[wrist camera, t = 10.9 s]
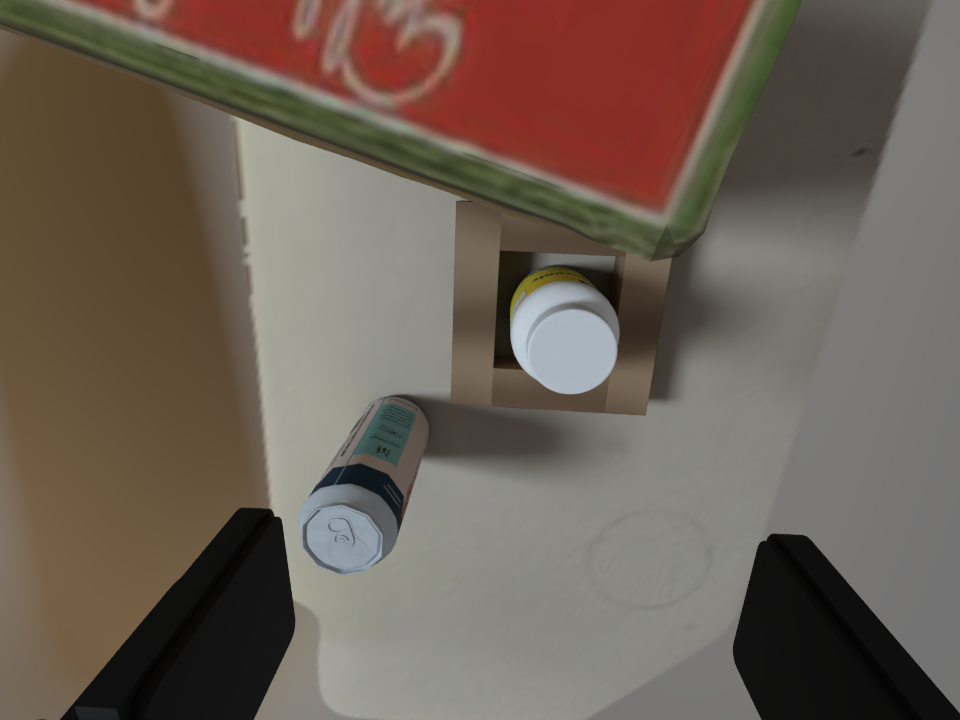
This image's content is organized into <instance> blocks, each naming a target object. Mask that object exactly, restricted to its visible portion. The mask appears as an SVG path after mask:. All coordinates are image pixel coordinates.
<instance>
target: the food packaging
mask: <svg viewBox="0 0 960 720" xmlns="http://www.w3.org/2000/svg"><path fill="white" fill-rule="evenodd" d="M801 1H802V0H0V29H2V30H5V31H8V32H11V33H13V34H16V35H19V36H22V37H25V38H28V39H30V40H33V41H36V42H39V43H41V44H44V45H47V46H50V47H53V48H55V49H58V50H61V51H64V52H66V53H69V54H72V55H76V56H78V57H80V58H83V59H86V60H89V61H91V62H94V63H97V64H99V65H102V66H104V67H107V68H110V69H112V70H115V71H118V72H121V73H123V74H126V75H128V76H131V77H134V78H136V79H139V80H142V81H144V82H147V83H149V84H152V85H155V86H158V87H160V88H163V89H166V90H168V91H171V92H174V93H177V94H179V95H182V96H184V97H187V98H190V99H193V100H195V101H198V102H201V103H203V104H206V105H209V106H211V107H214V108H217V109H219V110H221V111H224V112H226V113H229V114H231V115H234V116H236V117H239V118H241V119H244V120H246V121H249V122H251V123H254V124H256V125H259V126H261V127H264V128H266V129H269V130H271V131H274V132H276V133H279V134H281V135H284V136H286V137H289V138H291V139H294V140H297V141H300V142H303V143H306V144H309V145H312V146H315V147H318V148H321V149H324V150H327V151H330V152H333V153H336V154H339V155H342V156H345V157H348V158H351V159H354V160H357V161H360V162H362V163H365V164H368V165H371V166H373V167H376V168H379V169H381V170H384V171H387V172H390V173H392V174H395V175H398V176H400V177H403V178H407V179H410V180H413V181H417V182H420V183H423V184H426V185H429V186H432V187H435V188H438V189H441V190H444V191H446V192H449V193H452V194H454V195H457V196H460V197H462V198H465V199H468V200H470V201H473V202H475V203H478V204H481V205H483V206H486V207H489V208H491V209H494V210H497V211H499V212H502V213H504V214H507V215H511V216H514V217H518V218H521V219H525V220H528V221H532V222H535V223H539V224H542V225H546V226H549V227H553V228H556V229H560V230H563V231H566V232H569V233H572V234H575V235H577V236H580V237H583V238H586V239H589V240H592V241H595V242H598V243H601V244H604V245H606V246H609V247H612V248H615V249H617V250H620V251H623V252H625V253H628V254H630V255H633V256H636V257H638V258H641V259H644V260H646V261H649V262H652V261H657V260H662V259H667V258H672V257H678V256H680V255H681V254H682V253H683V252H684V251H685V250H686V249H688V248H689V247H690V246H691V245H692V244H693V243H694V242H695V241H696V240H697V239H698V238H699V237H700V236H701V235H702V234H703V233H704V231H705V228H706V225H707V222H708V218H709V215H710V212H711V209H712V206H713V203H714V199H715V197H716V194H717V192H718V189H719V187H720V184H721V182H722V179H723V177H724V174H725V172H726V169H727V166H728V164H729V161H730V159H731V157H732V155H733V153H734V150H735V148H736V146H737V144H738V142H739V140H740V138H741V136H742V134H743V132H744V130H745V128H746V126H747V123H748V121H749V119H750V117H751V115H752V113H753V111H754V109H755V107H756V104H757V102H758V100H759V98H760V96H761V93H762V91H763V89H764V87H765V84H766V82H767V80H768V78H769V75H770V73H771V71H772V69H773V66H774V64H775V62H776V60H777V58H778V55H779V53H780V51H781V49H782V46H783V44H784V42H785V40H786V37H787V35H788V33H789V31H790V28H791V26H792V23H793V21H794V18H795V16H796V13H797V11H798V8H799V6H800V3H801Z"/></svg>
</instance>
